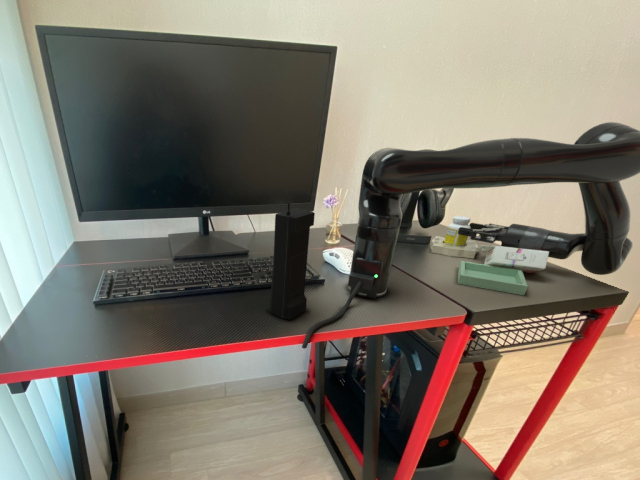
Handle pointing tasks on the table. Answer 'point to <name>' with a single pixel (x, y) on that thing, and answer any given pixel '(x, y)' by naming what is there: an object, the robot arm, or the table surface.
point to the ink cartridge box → (515, 258)
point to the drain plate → (453, 248)
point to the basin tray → (492, 277)
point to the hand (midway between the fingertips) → (464, 228)
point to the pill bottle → (452, 232)
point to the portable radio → (290, 262)
